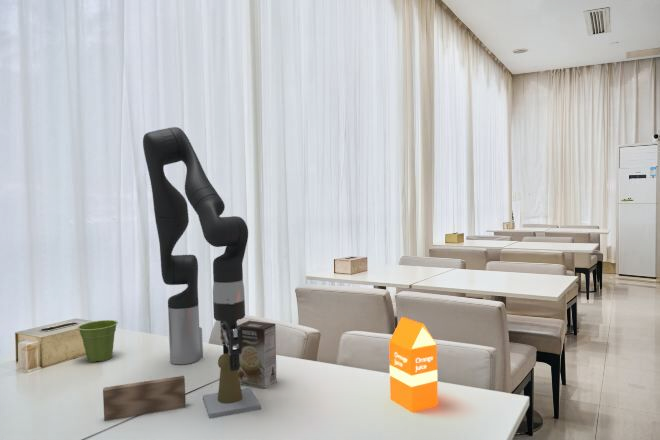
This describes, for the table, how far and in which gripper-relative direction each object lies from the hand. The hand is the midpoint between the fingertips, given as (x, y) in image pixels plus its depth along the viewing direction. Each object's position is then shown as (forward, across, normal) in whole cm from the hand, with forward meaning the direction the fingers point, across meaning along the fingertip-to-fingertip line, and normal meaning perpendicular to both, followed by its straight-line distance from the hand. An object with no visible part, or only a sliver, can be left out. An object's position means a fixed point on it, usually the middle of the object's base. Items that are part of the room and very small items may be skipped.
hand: (231, 364), depth 119 cm
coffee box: (+10, -11, +9) cm, 17 cm away
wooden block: (+10, -4, -20) cm, 22 cm away
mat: (+10, 0, 0) cm, 10 cm away
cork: (+9, 0, 0) cm, 9 cm away
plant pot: (+10, -54, -33) cm, 64 cm away
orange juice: (+10, +19, +40) cm, 45 cm away
